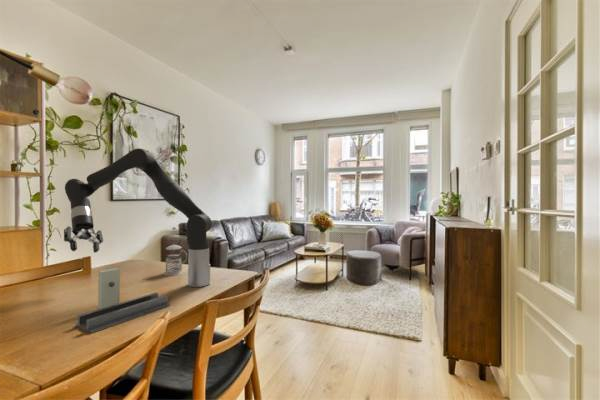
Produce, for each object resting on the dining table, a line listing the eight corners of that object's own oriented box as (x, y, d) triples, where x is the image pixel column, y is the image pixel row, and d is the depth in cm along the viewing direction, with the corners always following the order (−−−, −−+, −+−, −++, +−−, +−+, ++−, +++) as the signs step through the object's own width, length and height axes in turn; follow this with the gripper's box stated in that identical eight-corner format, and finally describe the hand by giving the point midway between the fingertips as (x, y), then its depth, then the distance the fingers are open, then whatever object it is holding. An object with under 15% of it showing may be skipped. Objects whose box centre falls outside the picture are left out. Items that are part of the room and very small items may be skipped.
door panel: (115, 304, 106) (116, 267, 106) (120, 306, 105) (121, 269, 105) (98, 309, 101) (98, 271, 101) (102, 311, 100) (103, 272, 99)
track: (153, 300, 111) (154, 291, 111) (169, 305, 106) (169, 296, 106) (75, 325, 88) (75, 314, 88) (90, 333, 83) (90, 322, 83)
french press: (164, 271, 155) (165, 226, 155) (187, 269, 159) (187, 226, 159) (162, 276, 146) (163, 228, 146) (186, 274, 150) (187, 227, 150)
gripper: (69, 211, 118) (72, 245, 111) (103, 217, 130) (108, 248, 124) (58, 220, 119) (60, 254, 113) (93, 224, 132) (97, 255, 126)
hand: (85, 251), depth 119 cm, fingers open, 8 cm apart
